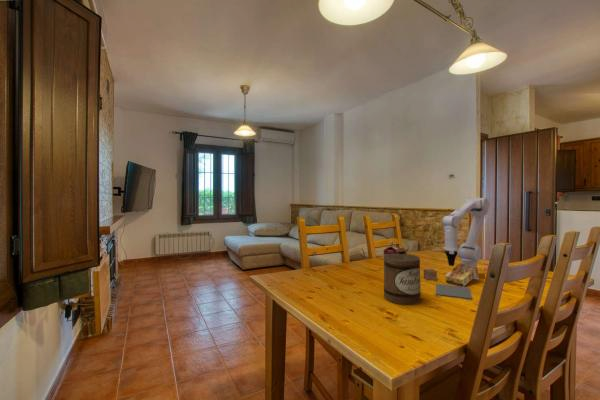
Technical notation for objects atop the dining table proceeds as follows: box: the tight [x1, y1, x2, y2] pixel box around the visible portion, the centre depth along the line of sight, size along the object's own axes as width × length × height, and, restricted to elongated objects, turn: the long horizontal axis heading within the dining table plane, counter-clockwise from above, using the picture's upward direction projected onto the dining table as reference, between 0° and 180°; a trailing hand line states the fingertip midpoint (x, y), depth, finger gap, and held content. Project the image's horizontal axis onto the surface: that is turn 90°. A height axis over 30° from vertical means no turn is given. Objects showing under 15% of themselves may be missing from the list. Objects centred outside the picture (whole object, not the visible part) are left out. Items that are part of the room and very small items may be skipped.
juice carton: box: [383, 241, 400, 257], centre depth 135 cm, size 7×7×22 cm
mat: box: [435, 283, 473, 301], centre depth 129 cm, size 16×14×1 cm
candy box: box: [444, 262, 479, 287], centre depth 142 cm, size 9×4×15 cm
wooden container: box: [383, 247, 422, 306], centre depth 121 cm, size 15×15×22 cm
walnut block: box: [423, 268, 438, 282], centre depth 149 cm, size 5×5×5 cm
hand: (451, 265), depth 143 cm, fingers closed
